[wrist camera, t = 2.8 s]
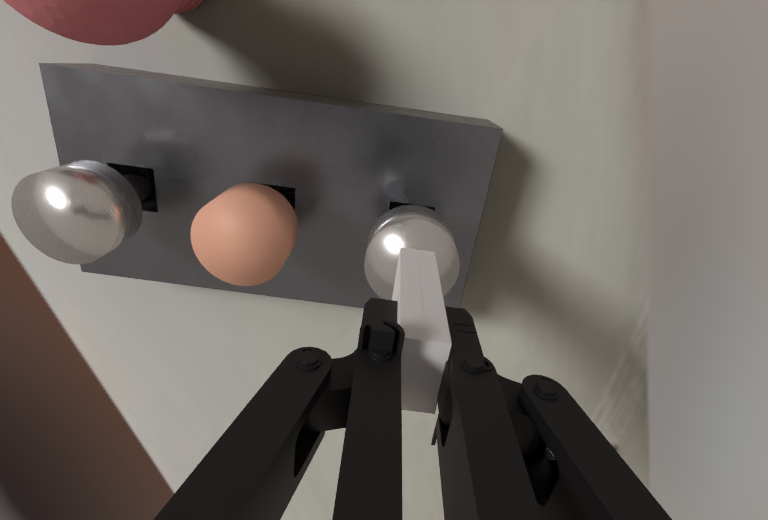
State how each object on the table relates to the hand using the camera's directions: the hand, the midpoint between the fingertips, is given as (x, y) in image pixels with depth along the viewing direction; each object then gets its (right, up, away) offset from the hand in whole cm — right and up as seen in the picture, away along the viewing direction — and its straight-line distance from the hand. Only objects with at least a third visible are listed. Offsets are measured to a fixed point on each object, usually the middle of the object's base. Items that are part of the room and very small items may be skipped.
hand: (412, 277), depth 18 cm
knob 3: (0, +3, +6) cm, 7 cm away
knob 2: (-8, +4, +6) cm, 11 cm away
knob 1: (-16, +5, +6) cm, 17 cm away
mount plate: (-8, +6, +9) cm, 13 cm away
